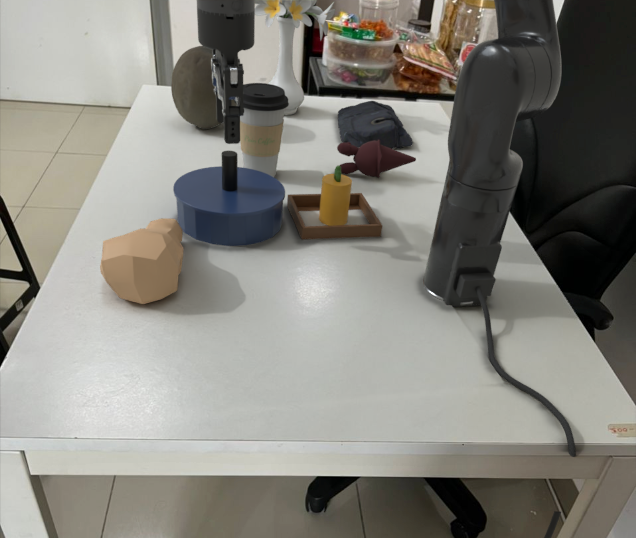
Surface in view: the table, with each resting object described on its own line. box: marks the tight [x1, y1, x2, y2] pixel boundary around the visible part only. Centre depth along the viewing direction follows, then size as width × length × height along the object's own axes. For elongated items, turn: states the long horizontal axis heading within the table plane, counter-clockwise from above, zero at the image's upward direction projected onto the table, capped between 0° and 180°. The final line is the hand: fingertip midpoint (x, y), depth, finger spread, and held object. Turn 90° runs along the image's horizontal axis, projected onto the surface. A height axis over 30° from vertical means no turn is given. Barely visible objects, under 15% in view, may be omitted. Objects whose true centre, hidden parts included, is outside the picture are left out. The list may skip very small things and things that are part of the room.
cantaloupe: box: [170, 45, 236, 130], centre depth 132 cm, size 14×14×15 cm
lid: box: [172, 150, 286, 216], centre depth 99 cm, size 17×17×7 cm
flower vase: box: [255, 0, 336, 116], centre depth 140 cm, size 13×18×25 cm
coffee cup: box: [234, 82, 289, 178], centre depth 115 cm, size 9×9×15 cm
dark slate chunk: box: [337, 100, 414, 150], centre depth 141 cm, size 15×22×5 cm
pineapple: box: [318, 164, 353, 226], centre depth 104 cm, size 5×5×9 cm
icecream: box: [336, 140, 417, 179], centre depth 122 cm, size 7×7×15 cm
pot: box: [175, 198, 284, 247], centre depth 103 cm, size 17×17×6 cm
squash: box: [99, 217, 185, 305], centre depth 89 cm, size 11×20×9 cm, turn 0°
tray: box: [286, 192, 384, 240], centre depth 107 cm, size 12×13×2 cm
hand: (228, 132), depth 94 cm, fingers open, 8 cm apart
